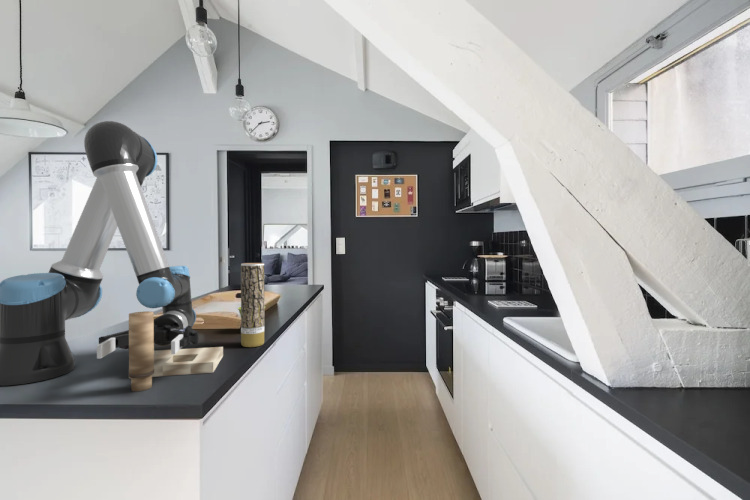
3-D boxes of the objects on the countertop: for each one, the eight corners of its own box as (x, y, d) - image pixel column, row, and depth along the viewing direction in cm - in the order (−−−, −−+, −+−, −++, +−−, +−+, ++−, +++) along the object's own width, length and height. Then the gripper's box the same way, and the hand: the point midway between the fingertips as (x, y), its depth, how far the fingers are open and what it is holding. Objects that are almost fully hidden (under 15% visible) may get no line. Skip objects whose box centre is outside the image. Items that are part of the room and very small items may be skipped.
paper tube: (268, 345, 115) (268, 263, 114) (246, 349, 110) (246, 264, 110) (258, 341, 120) (258, 262, 119) (237, 344, 115) (237, 263, 115)
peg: (124, 393, 77) (124, 315, 77) (133, 384, 82) (133, 311, 82) (150, 391, 78) (149, 314, 78) (157, 383, 83) (157, 310, 83)
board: (129, 378, 86) (128, 367, 86) (150, 360, 99) (150, 350, 99) (213, 372, 90) (213, 362, 90) (223, 355, 103) (223, 346, 103)
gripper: (219, 339, 101) (202, 363, 80) (114, 345, 95) (66, 372, 74) (219, 311, 101) (202, 328, 80) (113, 315, 95) (66, 334, 74)
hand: (136, 349), depth 77 cm, fingers open, 13 cm apart
